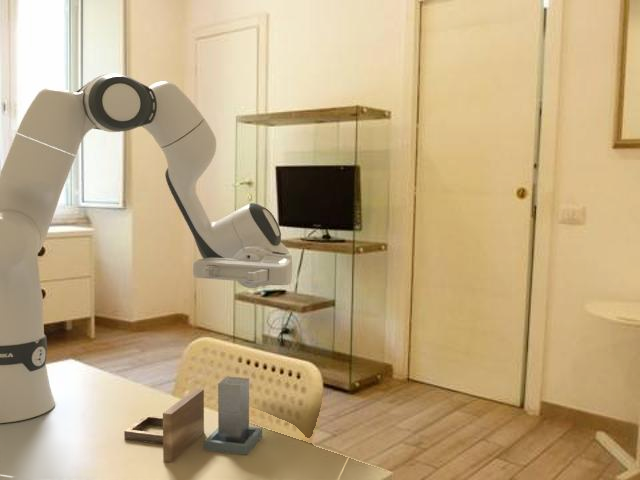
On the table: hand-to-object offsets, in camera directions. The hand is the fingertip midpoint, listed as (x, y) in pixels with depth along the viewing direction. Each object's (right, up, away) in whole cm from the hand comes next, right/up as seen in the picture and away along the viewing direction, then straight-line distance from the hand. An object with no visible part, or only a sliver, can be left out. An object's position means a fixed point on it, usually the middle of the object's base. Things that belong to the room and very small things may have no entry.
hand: (228, 275), depth 118 cm
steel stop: (+3, -28, -12) cm, 31 cm away
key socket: (-12, -28, -9) cm, 31 cm away
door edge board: (-5, -28, -14) cm, 32 cm away
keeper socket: (+3, -28, -12) cm, 31 cm away
